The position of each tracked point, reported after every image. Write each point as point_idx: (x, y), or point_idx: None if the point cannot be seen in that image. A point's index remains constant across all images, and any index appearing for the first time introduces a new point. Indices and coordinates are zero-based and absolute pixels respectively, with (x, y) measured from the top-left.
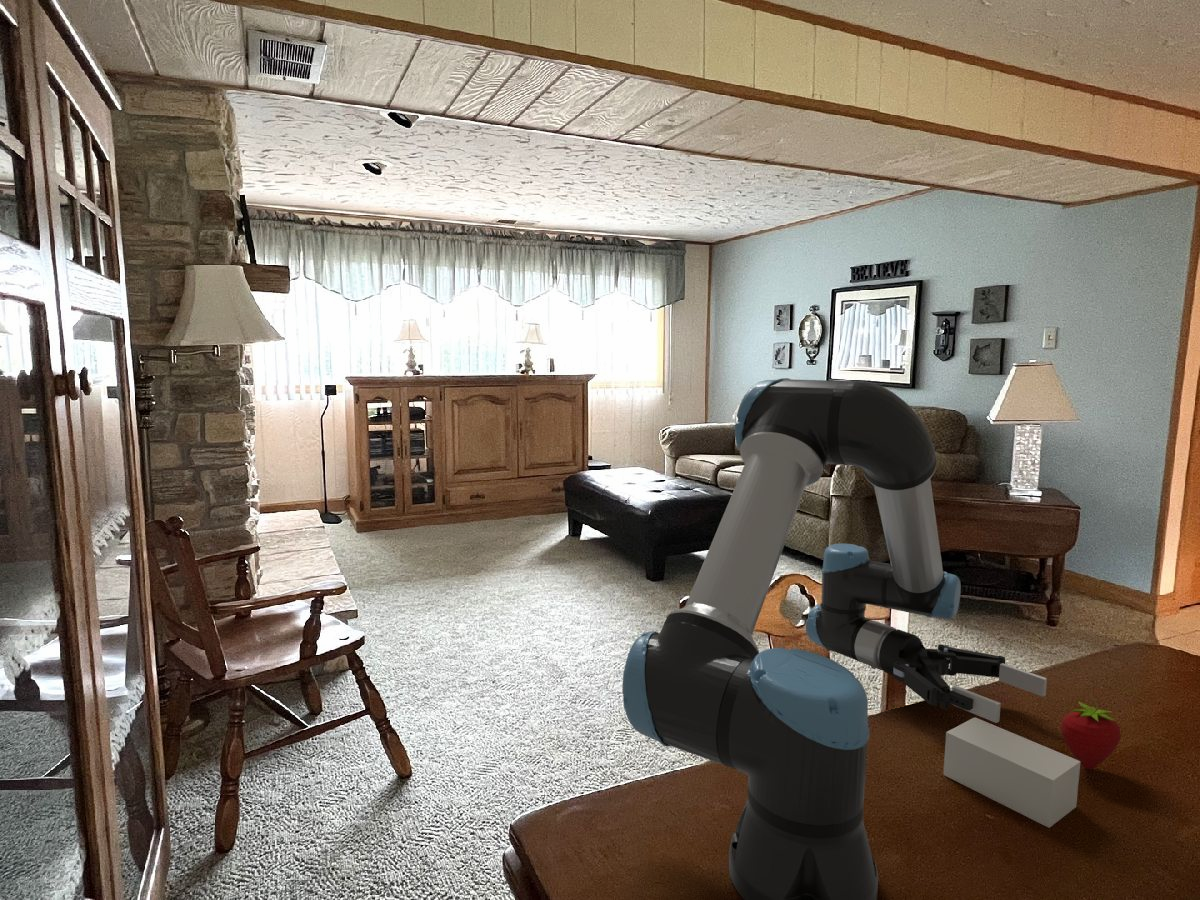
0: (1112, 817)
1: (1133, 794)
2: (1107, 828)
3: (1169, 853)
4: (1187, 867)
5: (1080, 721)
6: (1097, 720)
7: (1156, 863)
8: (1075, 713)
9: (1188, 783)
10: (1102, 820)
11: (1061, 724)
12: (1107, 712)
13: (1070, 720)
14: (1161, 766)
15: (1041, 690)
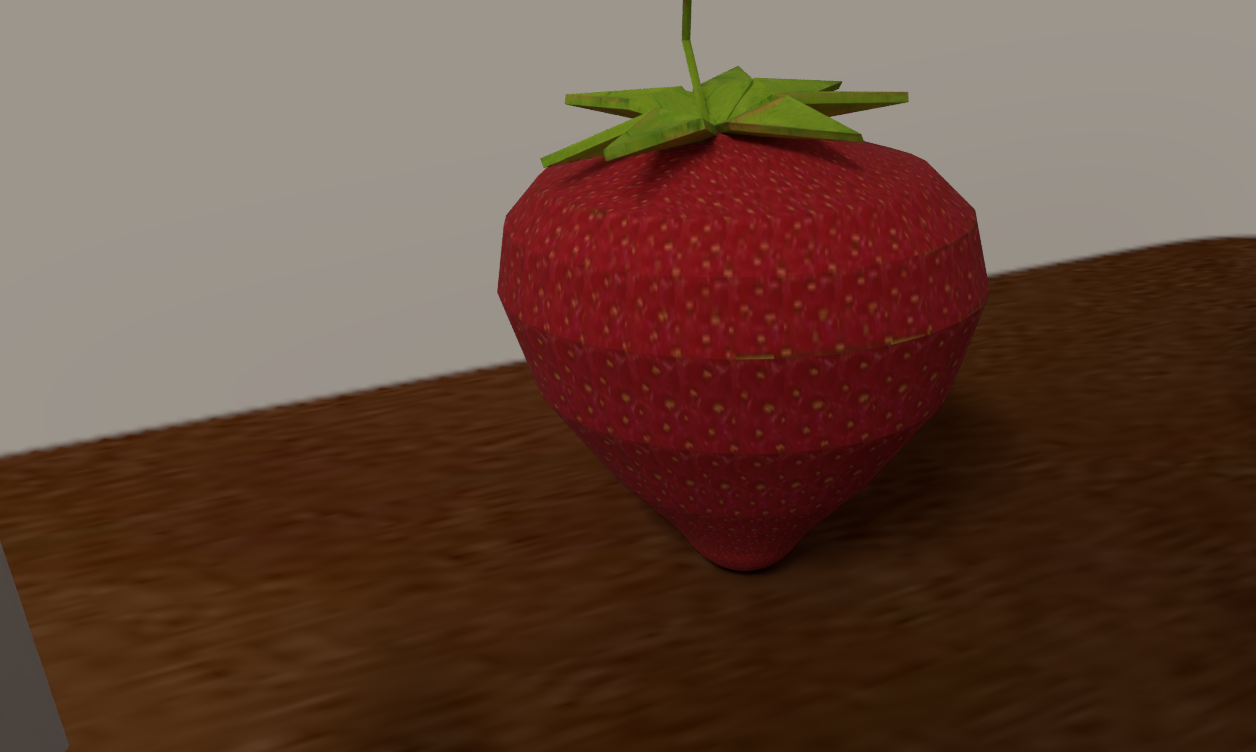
0: (1124, 382)
1: None
2: (1242, 364)
3: (1105, 280)
4: (1117, 254)
5: (888, 156)
6: (831, 84)
7: (1226, 274)
8: (790, 179)
9: (412, 383)
10: (1208, 385)
11: (905, 314)
12: (625, 90)
13: (929, 189)
14: (305, 456)
15: (27, 687)
